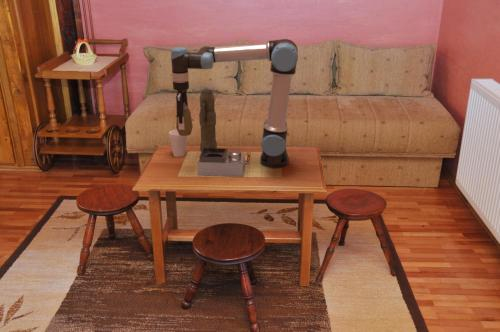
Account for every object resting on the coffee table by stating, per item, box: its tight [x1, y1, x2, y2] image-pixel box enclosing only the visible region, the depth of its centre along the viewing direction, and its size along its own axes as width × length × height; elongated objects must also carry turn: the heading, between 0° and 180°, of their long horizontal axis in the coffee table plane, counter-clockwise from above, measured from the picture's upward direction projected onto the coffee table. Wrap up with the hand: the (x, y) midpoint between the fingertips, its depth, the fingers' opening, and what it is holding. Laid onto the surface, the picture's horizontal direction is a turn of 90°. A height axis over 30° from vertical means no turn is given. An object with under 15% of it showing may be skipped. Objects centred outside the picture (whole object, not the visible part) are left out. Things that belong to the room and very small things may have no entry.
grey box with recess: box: [197, 147, 246, 178], centre depth 263 cm, size 22×18×10 cm
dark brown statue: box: [198, 90, 218, 153], centre depth 276 cm, size 9×12×35 cm
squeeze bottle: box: [175, 102, 194, 137], centre depth 254 cm, size 8×8×18 cm
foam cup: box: [168, 128, 188, 158], centre depth 280 cm, size 10×9×13 cm
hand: (183, 126), depth 256 cm, fingers closed on squeeze bottle, 8 cm apart
